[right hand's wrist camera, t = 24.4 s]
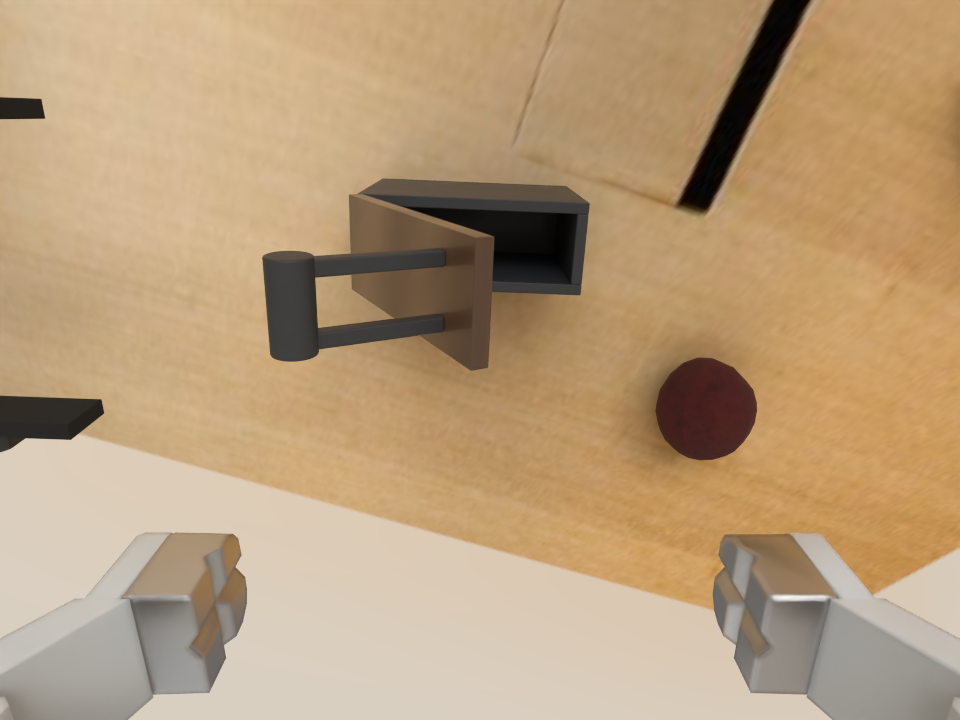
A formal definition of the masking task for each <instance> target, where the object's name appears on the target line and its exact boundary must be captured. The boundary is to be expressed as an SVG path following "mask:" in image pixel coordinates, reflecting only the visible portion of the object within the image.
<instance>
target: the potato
mask: <svg viewBox="0 0 960 720" xmlns="http://www.w3.org/2000/svg"><path fill="white" fill-rule="evenodd" d="M756 413H757V402H756V398H755V395H754V391H753V389H752V388H751V387H750V385H749V384H748V383H747V381H746V380H745V379H744V378H743V377H742V376H741V375H740V374H739V373H738V372H737V371H736V370H735V369H734V368H733V367H731V366H729V365H726V364H724V363H722V362H719V361H717V360H715V359H713V358H696V359H693V360H690V361H688V362H685V363H683V364H682V365H681V366H679V367H678V368H677V369H676V370H675V371H673V372H672V373H671V374H670V375H669V377H668V378H667V380H666V381H665V383H664V385H663V386H662V388H661V389H660V392H659V396H658V401H657V405H656V415H657V421H658V425H659V428H660V430H661V432H662V434H663V436H664V438H665V440H666V441H667V442H668V443H669V444H670V445H671V446H672V447H673V448H674V449H675V450H676V451H678V452H679V453H680V454H682V455H684V456H686V457H688V458H692V459H697V460H713V459H716V458H720V457H723V456H726V455H728V454H730V453H732V452H734V451H735V450H736V449H737V448H738V447H739V446H740V445H741V444H742V443H743V442H744V441H745V439H746V438H747V436H748V435H749V433H750V431H751V429H752V427H753V425H754V423H755V418H756Z"/></svg>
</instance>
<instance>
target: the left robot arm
mask: <svg viewBox="0 0 960 720" xmlns="http://www.w3.org/2000/svg"><path fill="white" fill-rule="evenodd" d="M0 119H45V116H44V111H43V106H42V101H41V99H28V98H3V97H0ZM103 414H104V410H103V405H102V400H101V399H73V398H45V397H17V396H0V452H2V451H5V450H8V449H11V448H12V447H14V446H15V445H17V444H18V443H19V442H21V441H22V440H24V439H25V438H38V439H66V440H71V439H72V438H73V437H75V436H76V435H77V434H79V433H80V432H81V431H82V430H84V429H85V428H86V427H87V426H89V425H90V424H91V423H93V422H94V421H95V420H96V419H98V418H99V417H100V416H101V415H103Z"/></svg>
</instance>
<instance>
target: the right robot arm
mask: <svg viewBox="0 0 960 720" xmlns="http://www.w3.org/2000/svg"><path fill="white" fill-rule="evenodd" d="M240 557H241V550H240V545H239V540H238V538H237V537H236V536H235V535H233V534H213V533H143V534H141V535H138V536H137V537H136V538H135V539H134V540H133V542H132V543H131V544H130V545H129V546H128V548H127V549H126V550H125V551H124V552H123V554H122V555H121V556H120V557H119V558H118V559H117V561H116V562H115V563H114V564H113V565H112V567H111V568H110V569H109V570H108V571H107V573H106V574H105V575H104V576H103V577H102V579H101V580H100V581H99V582H98V583H97V585H96V586H95V587H94V588H93V589H92V590H91V592H90V593H89V594H88V595H87V596H86V598H85V599H73V600H72V601H70V602H68V603H66V604H64V605H62V606H60V607H58V608H56V609H55V610H53V611H51V612H49V613H47V614H45V615H43V616H41V617H40V618H38V619H36V620H34V621H32V622H30V623H28V624H26V625H25V626H23V627H21V628H19V629H17V630H15V631H13V632H11V633H10V634H8V635H6V636H4V637H2V638H0V720H128V719H129V718H130V717H131V716H133V715H134V714H135V713H136V712H137V711H138V710H139V709H141V708H142V707H143V706H144V705H145V704H146V703H147V702H149V701H150V700H151V699H152V698H153V694H186V693H209V692H210V690H211V688H212V686H213V684H214V682H215V680H216V678H217V675H218V673H219V671H220V669H221V667H222V665H223V663H224V661H225V659H226V655H225V650H224V645H225V644H226V643H227V642H229V641H230V640H232V639H233V638H234V637H236V636H237V633H238V631H239V629H240V627H241V625H242V622H243V618H244V614H245V609H246V604H247V587H246V580H245V577H244V576H243V574H241V573H240V571H238V569H237V568H236V567H235V566H236V564H237V562H238V561H239V559H240ZM719 557H720V559H721V561H722V562H723V564H724V566H725V567H724V568H723V569H722V570H721V571H720V572H719V573H718V574H717V575H716V577H715V581H714V589H713V601H714V611H715V615H716V618H717V622H718V625H719V627H720V629H721V631H722V633H723V636H724V637H726V638H727V639H729V640H730V641H731V642H733V643H734V644H735V645H736V650H735V655H734V659H735V661H736V663H737V665H738V667H739V669H740V671H741V673H742V675H743V677H744V680H745V682H746V684H747V686H748V688H749V690H750V692H751V693H773V694H807V698H808V699H809V700H811V701H812V702H813V703H814V704H815V705H816V706H817V707H819V708H820V709H821V710H822V711H823V712H824V713H826V714H827V715H828V716H829V717H830V718H831V719H832V720H960V638H958V637H956V636H954V635H952V634H950V633H948V632H947V631H945V630H943V629H941V628H939V627H937V626H935V625H933V624H932V623H930V622H928V621H926V620H924V619H922V618H920V617H918V616H917V615H915V614H913V613H911V612H909V611H907V610H905V609H903V608H902V607H900V606H898V605H896V604H894V603H892V602H890V601H888V600H887V599H875V598H874V596H873V595H872V594H871V593H870V592H869V590H868V589H867V588H866V587H865V586H864V585H863V583H862V582H861V581H860V580H859V579H858V577H857V576H856V575H855V574H854V573H853V571H852V570H851V569H850V568H849V567H848V566H847V564H846V563H845V562H844V561H843V560H842V558H841V557H840V556H839V555H838V554H837V552H836V551H835V550H834V549H833V548H832V547H831V545H830V544H829V543H828V542H827V541H826V539H825V538H824V537H823V536H822V535H820V534H818V533H816V532H806V533H785V534H731V535H724V537H723V539H722V541H721V544H720V549H719Z"/></svg>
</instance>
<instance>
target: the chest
mask: <svg viewBox="0 0 960 720" xmlns="http://www.w3.org/2000/svg"><path fill="white" fill-rule="evenodd" d="M358 194H363V195H367V196H370V197H373V198H376V199H379V200H382V201H385V202H388V203H391V204H394V205H398V206H401V207H404V208H407V209H410V210H413V211H416V212H419V213H422V214H426V215H429V216H432V217H435V218H438V219H441V220H444V221H447V222H450V223H454V224H457V225H460V226H463V227H466V228H469V229H472V230H475V231H478V232H482V233H485V234H488V235H491V236H494V255H493V276H492V292H513V293H538V294H563V295H580V293H581V283H582V273H583V263H584V253H585V243H586V233H587V223H588V213H589V203H588V202H587V201H585V200H584V199H583V198H581V197H580V196H579V195H577V194H576V193H575V192H573V191H572V190H571V189H569V188H568V187H567V186H544V185H521V184H497V183H474V182H450V181H427V180H403V179H382V180H380V181H378V182H377V183H375V184H373V185H372V186H370V187H368V188H367V189H365V190H363V191H361V192H360V193H358Z"/></svg>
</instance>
